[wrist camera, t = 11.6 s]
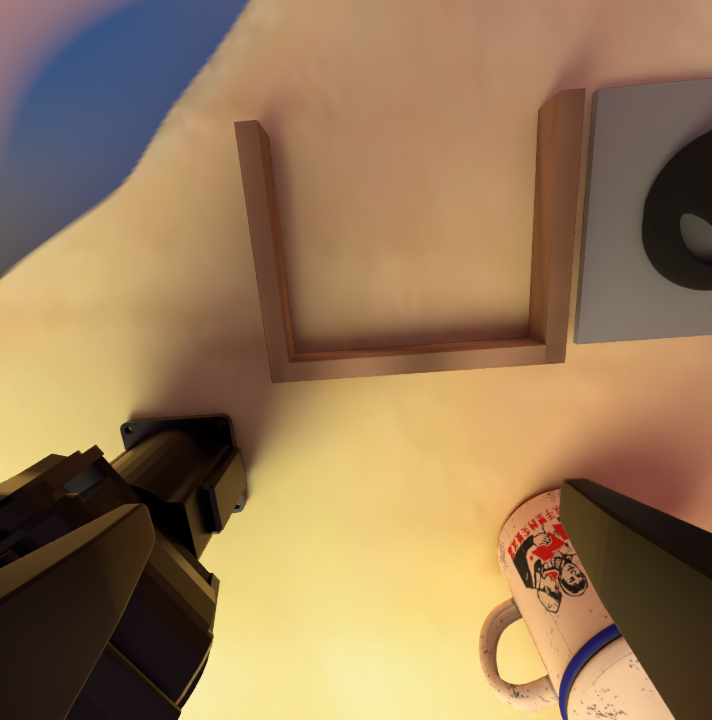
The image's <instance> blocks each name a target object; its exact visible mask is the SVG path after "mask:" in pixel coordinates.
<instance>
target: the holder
mask: <svg viewBox="0 0 712 720" xmlns="http://www.w3.org/2000/svg"><path fill="white" fill-rule="evenodd" d="M584 99H585V88H583V89H573V90H562V91H560V92H559V93H558V94H557V95H556V96H554V97H553V98H552V99H551V100H550V101H549V102H548V103H546V104H545V105H544V106H543V107H542V108H541V109H540V110H539V111H538V133H537V155H536V177H535V199H534V220H533V242H532V264H531V286H530V308H529V329H528V337H523V338H510V339H496V340H482V341H468V342H454V343H440V344H426V345H412V346H398V347H385V348H371V349H357V350H343V351H329V352H315V353H301V354H296V353H295V345H294V337H293V329H292V321H291V313H290V305H289V297H288V289H287V281H286V273H285V265H284V257H283V249H282V241H281V233H280V225H279V217H278V209H277V201H276V193H275V185H274V177H273V169H272V161H271V153H270V145H269V137H268V135H267V133H266V132H265V131H264V129H263V128H262V127H261V125H260V124H259V123H258V121H257V120H252V121H241V122H234V125H235V132H236V139H237V146H238V153H239V160H240V167H241V174H242V180H243V187H244V194H245V201H246V208H247V215H248V222H249V229H250V236H251V242H252V249H253V256H254V263H255V270H256V277H257V284H258V291H259V297H260V304H261V311H262V318H263V325H264V332H265V339H266V346H267V352H268V359H269V366H270V373H271V380H272V383H281V382H295V381H310V380H324V379H339V378H353V377H367V376H382V375H396V374H411V373H425V372H440V371H454V370H469V369H483V368H497V367H512V366H526V365H541V364H555V363H565V356H566V342H567V329H568V315H569V302H570V288H571V275H572V261H573V248H574V234H575V221H576V207H577V194H578V180H579V167H580V153H581V140H582V126H583V113H584Z"/></svg>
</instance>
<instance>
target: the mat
mask: <svg viewBox="0 0 712 720" xmlns="http://www.w3.org/2000/svg"><path fill="white" fill-rule="evenodd" d="M710 130H712V78H708V79H697V80H687V81H677V82H666V83H656V84H646V85H635V86H625V87H614V88H604V89H598V90H597V91H595V92H594V93H593V102H592V115H591V127H590V140H589V153H588V165H587V178H586V191H585V203H584V216H583V228H582V241H581V254H580V266H579V279H578V292H577V304H576V317H575V330H574V342H573V343H576V344H588V343H602V342H616V341H630V340H644V339H659V338H673V337H687V336H701V335H712V290H711V291H700V290H692V289H688V288H684V287H681V286H679V285H676V284H674V283H672V282H671V281H669V280H667V279H666V278H664V277H663V276H662V275H660V274H659V273H658V272H657V271H656V269H655V268H654V267H653V266H652V264H651V262H650V260H649V259H648V257H647V255H646V253H645V249H644V246H643V242H642V221H643V213H644V205H645V200H646V198H647V196H648V193H649V191H650V188H651V186H652V185H653V183H654V181H655V180H656V178H657V176H658V175H659V173H660V172H661V171H662V169H663V168H664V167H665V166H666V164H667V163H668V162H669V161H670V160H671V159H672V158H673V157H674V155H675V154H676V153H678V152H679V151H680V150H681V149H682V148H683V147H685V146H686V145H687V144H689V143H690V142H691V141H693V140H694V139H696V138H697V137H699V136H701V135H703V134H705V133H707V132H708V131H710ZM680 228H681V234H682V237H683V240H684V242H685V244H686V246H687V248H688V249H689V250H690V251H691V252H692V253H693V255H695V256H697V257H699V258H701V259H703V260H706V261H712V226H711V225H710V224H709V223H707V222H706V221H705V220H703V219H701V218H699V217H697V216H695V215H692V214H683V215H682V217H681V218H680Z"/></svg>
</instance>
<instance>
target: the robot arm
mask: <svg viewBox="0 0 712 720" xmlns="http://www.w3.org/2000/svg"><path fill="white" fill-rule="evenodd" d="M219 421H223V422H224V423H225V426H223V425H221V424H220V423H219ZM129 427H131V428H132V429H133V431H131V430H130V429H129ZM120 431H121V435H122V439H123V442H124V446H125V450H126V451H124V452H123V453H122V454H121V455H119V456H118V457H117V458H116V459H114V460H113V461H112V462H110V463H108V462H107V460H106V459H105V458H104V457H103V456H102V455H103V454H104V453H103V452H102V451H101V450H100V449H99V447H98V446H97V445H94V446H93V447H91V448H90V449H88V450H87V451H85V452H84V453H83V454H82V453H81V452H80V451H79V450H78V451H76V452H75V453H73V454H72V455H70V456H68V457H67V456H62V455H56V454H51V455H49V456H47V457H46V458H44V459H42V460H41V461H39V462H37V463H36V464H34V465H33V466H31V467H29V468H28V469H26V470H24V471H23V472H21V473H19V474H17V475H16V476H14V477H12V478H10V479H8V480H6V481H4V482H2V483H0V720H178V718H179V717H180V714H181V709H182V707H183V706H184V705H185V703H186V702H187V700H188V699H189V697H190V695H191V694H192V692H193V691H194V689H195V687H196V685H197V683H198V681H199V680H200V678H201V676H202V674H203V671H204V669H205V666H206V664H207V661H208V657H209V653H210V649H211V647H212V643H213V637H214V636H213V626H214V619H215V612H216V605H217V597H218V590H219V583H220V580H219V579H218V578H217V577H216V576H215V575H214V574H213V573H209V572H208V571H207V570H206V569H205V568H204V567H203V566H202V564H201V563H200V562H199V561H198V560H199V559H200V557H201V555H202V553H203V551H204V550H205V548H206V546H207V544H208V542H209V541H210V539H211V537H212V535H213V534H219V533H220V532H221V531H222V530H223V529H224V527H225V525H226V523H227V521H228V519H229V518H230V516H231V514H232V513H238V512H241V511H242V510H243V509H244V507H245V505H246V498H245V493H244V489H245V487H246V479H245V473H244V467H243V462H242V456H241V451H240V449H239V448H238V447H236V443H235V437H234V432H233V426H232V421H231V418H230V417H229V416H228V415H226V414H212V415H197V416H182V417H167V418H152V419H137V420H129V421H127V422H125V423H124V424H123V425H121V428H120ZM237 502H238V503H239V504H240V505H236V504H237ZM559 518H560V522H561V524H562V527H563V529H564V531H565V533H566V534H567V536H568V538H569V540H570V542H571V544H572V546H573V548H574V550H575V552H576V554H577V556H578V558H579V560H580V562H581V564H582V566H583V568H584V570H585V572H586V574H587V576H588V578H589V580H590V582H591V584H592V586H593V588H594V589H595V591H596V593H597V595H598V597H599V599H600V600H601V602H602V604H603V605H604V607H605V609H606V610H607V612H608V614H609V615H610V617H611V618H612V620H613V622H614V623H615V625H616V626H617V628H618V630H619V631H620V633H621V634H622V636H623V637H624V639H625V641H626V642H627V644H628V645H629V647H630V649H631V650H632V652H633V653H634V655H635V657H636V658H637V660H638V661H639V663H640V665H641V666H642V668H643V669H644V671H645V672H646V674H647V676H648V677H649V679H650V680H651V682H652V684H653V685H654V687H655V688H656V690H657V692H658V693H659V695H660V696H661V698H662V700H663V701H664V703H665V704H666V706H667V708H668V709H669V711H670V712H671V714H672V715H673V717H674V719H675V720H712V533H710V532H708V531H706V530H703V529H701V528H699V527H696V526H694V525H692V524H690V523H687V522H685V521H683V520H680V519H678V518H676V517H673V516H671V515H669V514H666V513H664V512H662V511H659V510H657V509H655V508H653V507H650V506H648V505H646V504H643V503H641V502H639V501H636V500H634V499H632V498H629V497H627V496H625V495H622V494H620V493H618V492H615V491H613V490H611V489H609V488H606V487H604V486H602V485H599V484H597V483H595V482H592V481H590V480H588V479H585V478H572V479H565V480H563V481H562V483H561V489H560V502H559Z"/></svg>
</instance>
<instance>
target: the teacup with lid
mask: <svg viewBox="0 0 712 720" xmlns="http://www.w3.org/2000/svg"><path fill="white" fill-rule="evenodd" d="M559 502H560V489H558V490H553V491H549V492H546V493H543V494H541V495H538V496H536V497H534V498H532V499H531V500H529V501H527V502H526V503H524V504H523V505H522V506H520V507H519V508H518V509H517V510H516V511H515V512H514V513H513V514H512V515H511V517H510V518H509V519H508V521H507V522H506V524H505V525H504V527H503V529H502V531H501V534H500V537H499V541H498V549H497V554H498V561H499V565H500V568H501V571H502V573H503V575H504V577H505V580H506V582H507V584H508V586H509V588H510V591H511V593H512V595H513V597H512V598H510V599H508V600H506V601H504V602H503V603H501V604H499V605H498V606H497V607H495V608H494V609H493V610H492V611H491V612H490V613H489V615H488V616H487V618H486V619H485V621H484V624H483V626H482V629H481V633H480V639H479V657H480V663H481V667H482V671H483V674H484V676H485V679H486V681H487V683H488V684H489V686H490V688H491V689H492V691H493V692H494V693H495V695H496V696H497V697H498V698H499V699H500V700H501V701H502V702H504V703H505V704H507V705H508V706H510V707H512V708H514V709H517V710H520V711H526V712H532V711H538V710H542V709H545V708H547V707H550V706H552V705H555V704H557V703H559V707H560V712H561V715H562V718H563V720H675V719H674V717H673V715H672V714H671V712H670V711H669V709H668V708H667V706H666V704H665V703H664V701H663V700H662V698H661V696H660V695H659V693H658V692H657V690H656V688H655V687H654V685H653V684H652V682H651V680H650V679H649V677H648V676H647V674H646V672H645V671H644V669H643V668H642V666H641V665H640V663H639V661H638V660H637V658H636V657H635V655H634V653H633V652H632V650H631V649H630V647H629V645H628V644H627V642H626V641H625V639H624V637H623V636H622V634H621V633H620V631H619V630H618V628H617V626H616V625H615V623H614V622H613V620H612V618H611V617H610V615H609V614H608V612H607V610H606V609H605V607H604V605H603V604H602V602H601V600H600V599H599V597H598V595H597V593H596V591H595V589H594V588H593V586H592V584H591V582H590V580H589V578H588V576H587V574H586V572H585V570H584V568H583V566H582V564H581V562H580V560H579V558H578V556H577V554H576V552H575V550H574V548H573V546H572V544H571V542H570V540H569V538H568V536H567V534H566V533H565V531H564V529H563V527H562V524H561V522H560V518H559ZM521 618H523V619H524V622H525V624H526V626H527V628H528V630H529V633H530V635H531V637H532V639H533V641H534V644H535V646H536V648H537V650H538V652H539V655H540V657H541V659H542V661H543V663H544V666H545V668H546V670H547V672H548V675H546V676H544V677H542V678H540V679H537V680H535V681H532V682H530V683H527V684H522V685H515V684H510V683H508V682H505V681H504V680H502V679H501V678H500V676H499V673H498V669H497V662H496V652H497V645H498V641H499V638H500V636H501V634H502V632H503V631H504V630H505V629H506V628H507V627H508V626H509V625H510V624H512V623H514V622H515V621H517V620H519V619H521Z"/></svg>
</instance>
